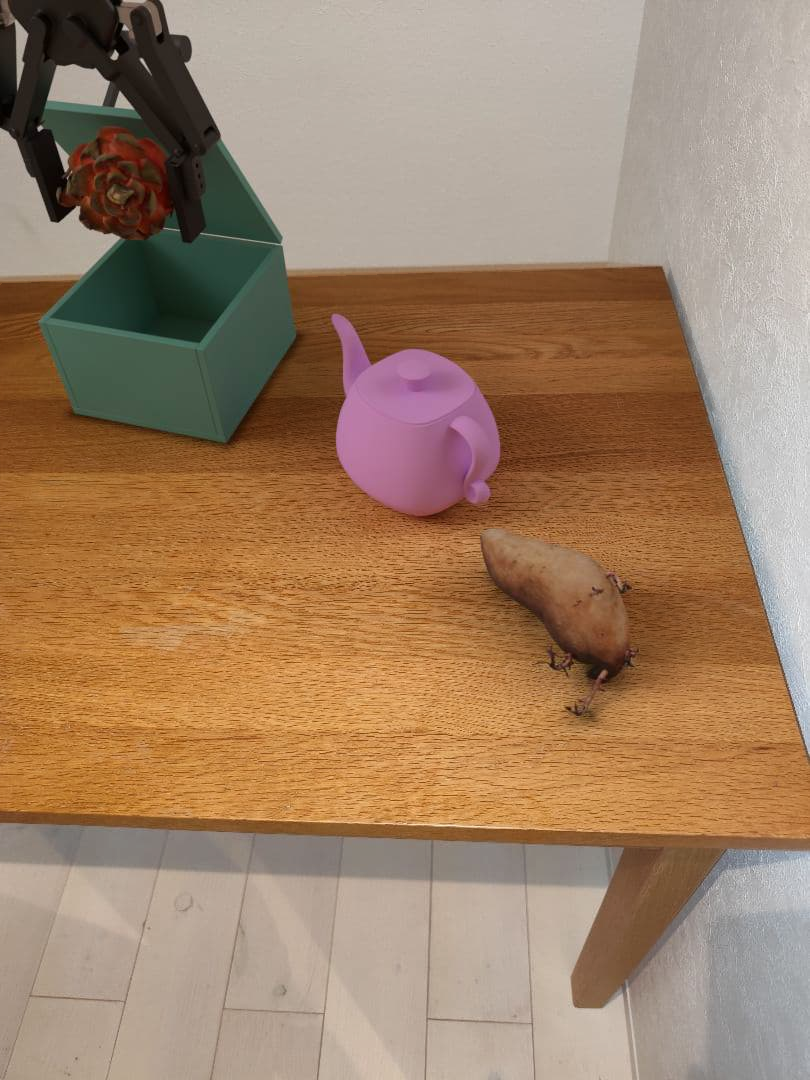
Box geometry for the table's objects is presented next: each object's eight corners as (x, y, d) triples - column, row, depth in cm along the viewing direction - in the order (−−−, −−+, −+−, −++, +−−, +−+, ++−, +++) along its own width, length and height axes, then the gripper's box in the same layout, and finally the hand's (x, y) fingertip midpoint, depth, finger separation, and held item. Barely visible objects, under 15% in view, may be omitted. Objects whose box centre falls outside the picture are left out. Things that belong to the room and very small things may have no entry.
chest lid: (204, 126, 69) (236, 20, 71) (22, 106, 73) (55, 6, 74) (281, 244, 87) (305, 158, 88) (131, 223, 91) (156, 141, 92)
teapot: (540, 486, 79) (552, 381, 71) (428, 564, 74) (426, 459, 65) (394, 383, 90) (389, 280, 81) (287, 445, 84) (268, 341, 75)
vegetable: (402, 593, 68) (453, 485, 63) (487, 569, 76) (538, 471, 71) (556, 736, 60) (628, 625, 56) (632, 692, 69) (700, 592, 64)
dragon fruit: (162, 283, 70) (110, 242, 78) (224, 193, 69) (165, 160, 77) (69, 217, 64) (23, 180, 72) (136, 117, 63) (82, 90, 71)
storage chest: (226, 443, 85) (203, 349, 77) (74, 413, 88) (37, 321, 80) (296, 336, 96) (282, 245, 88) (158, 314, 99) (133, 224, 91)
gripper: (233, -100, 56) (279, 221, 73) (-78, -118, 62) (30, 184, 78) (177, -65, 52) (240, 269, 68) (-155, -88, 57) (-23, 227, 73)
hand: (128, 224), depth 73 cm, fingers closed on dragon fruit, 11 cm apart
